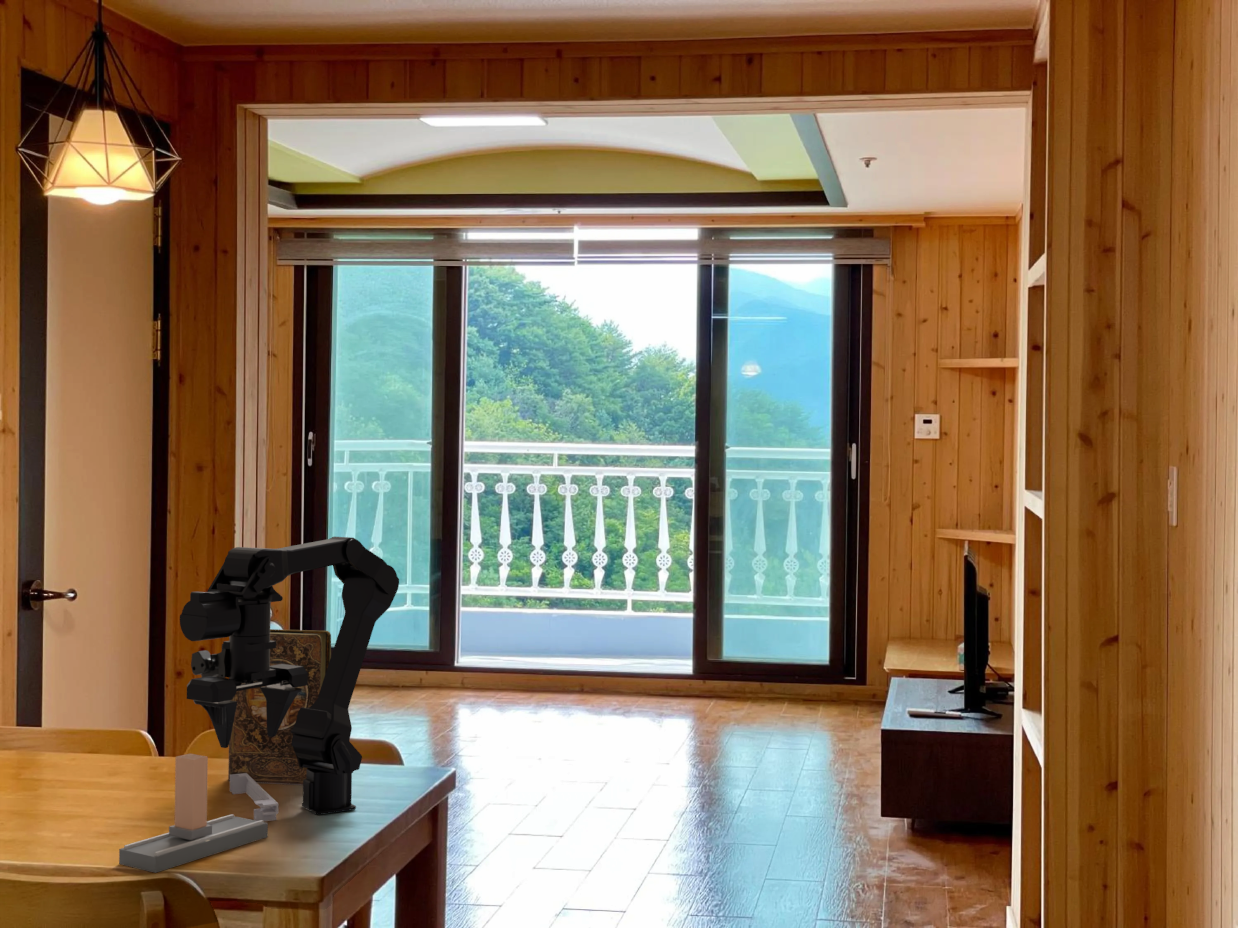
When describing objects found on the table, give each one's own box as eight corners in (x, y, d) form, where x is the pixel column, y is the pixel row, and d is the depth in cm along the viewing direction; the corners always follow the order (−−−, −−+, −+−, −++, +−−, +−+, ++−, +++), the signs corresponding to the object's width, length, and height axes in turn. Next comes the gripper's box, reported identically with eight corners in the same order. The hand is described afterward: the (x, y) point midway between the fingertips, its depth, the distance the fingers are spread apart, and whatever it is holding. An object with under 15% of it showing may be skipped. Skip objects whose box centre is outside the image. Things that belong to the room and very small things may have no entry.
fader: (189, 829, 187) (190, 752, 187) (211, 833, 185) (213, 756, 185) (169, 834, 184) (170, 756, 184) (191, 839, 182) (192, 760, 182)
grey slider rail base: (232, 829, 196) (232, 812, 196) (267, 836, 193) (267, 819, 193) (119, 863, 179) (119, 845, 179) (155, 872, 175) (155, 854, 175)
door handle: (227, 793, 218) (228, 774, 218) (246, 791, 220) (246, 772, 220) (258, 825, 199) (258, 805, 199) (278, 823, 201) (278, 803, 201)
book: (223, 781, 225) (225, 632, 225) (236, 774, 230) (238, 628, 230) (319, 785, 223) (321, 634, 223) (329, 777, 229) (332, 630, 229)
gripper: (256, 624, 207) (255, 725, 207) (160, 636, 191) (158, 746, 191) (310, 629, 202) (309, 733, 202) (216, 642, 185) (214, 756, 185)
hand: (248, 741), depth 195 cm, fingers open, 9 cm apart
